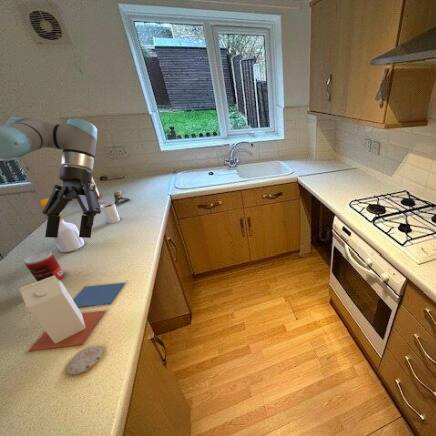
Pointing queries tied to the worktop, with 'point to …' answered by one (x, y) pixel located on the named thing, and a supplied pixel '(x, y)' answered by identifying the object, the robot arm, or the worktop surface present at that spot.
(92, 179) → the baking soda box
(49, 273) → the canned food
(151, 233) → the worktop surface
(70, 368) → the flatbread
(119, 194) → the artificial flower
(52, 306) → the milk carton
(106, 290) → the slate-blue mat
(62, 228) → the soap bottle
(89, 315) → the terracotta mat
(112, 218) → the white cup
